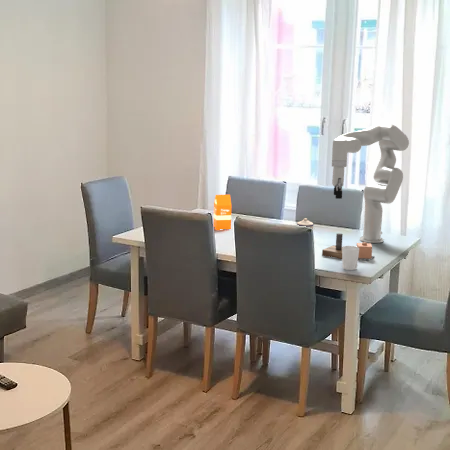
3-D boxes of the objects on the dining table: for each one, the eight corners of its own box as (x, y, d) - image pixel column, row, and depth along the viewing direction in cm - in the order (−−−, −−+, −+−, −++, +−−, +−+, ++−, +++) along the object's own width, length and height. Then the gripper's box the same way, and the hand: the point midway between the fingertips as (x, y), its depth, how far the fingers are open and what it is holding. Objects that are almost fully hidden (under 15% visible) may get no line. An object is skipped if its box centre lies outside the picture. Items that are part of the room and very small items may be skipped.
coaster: (359, 254, 352) (359, 253, 352) (374, 257, 347) (374, 256, 347) (352, 257, 346) (352, 256, 346) (367, 260, 341) (367, 259, 341)
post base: (333, 250, 358) (334, 230, 356) (354, 254, 352) (355, 233, 349) (322, 255, 349) (323, 234, 346) (343, 259, 342) (345, 238, 340)
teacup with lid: (307, 242, 376) (308, 221, 373) (293, 239, 381) (294, 218, 378) (318, 238, 385) (319, 217, 383) (304, 235, 390) (305, 215, 388)
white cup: (339, 266, 331) (340, 245, 329) (355, 265, 332) (356, 245, 329) (343, 270, 323) (344, 250, 321) (359, 270, 324) (361, 249, 322)
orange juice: (213, 227, 406) (213, 193, 402) (227, 226, 408) (228, 193, 404) (216, 230, 399) (216, 196, 394) (231, 229, 401) (231, 195, 397)
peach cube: (370, 254, 350) (371, 241, 348) (371, 258, 343) (372, 244, 341) (356, 254, 350) (356, 240, 349) (357, 257, 343) (358, 244, 342)
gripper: (330, 161, 360) (328, 193, 363) (333, 165, 343) (331, 199, 347) (344, 161, 359) (343, 193, 363) (348, 166, 342) (346, 200, 346)
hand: (337, 196), depth 355 cm, fingers open, 9 cm apart
